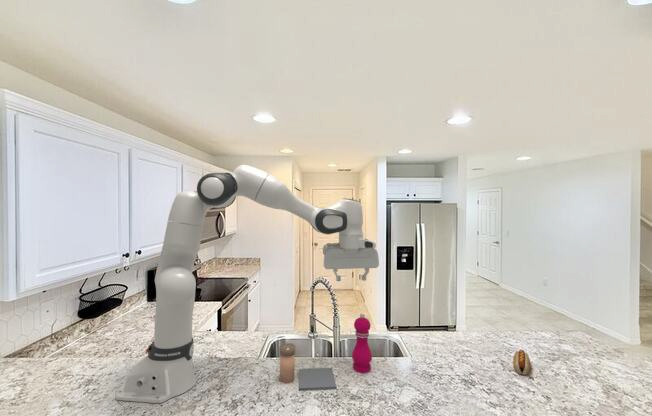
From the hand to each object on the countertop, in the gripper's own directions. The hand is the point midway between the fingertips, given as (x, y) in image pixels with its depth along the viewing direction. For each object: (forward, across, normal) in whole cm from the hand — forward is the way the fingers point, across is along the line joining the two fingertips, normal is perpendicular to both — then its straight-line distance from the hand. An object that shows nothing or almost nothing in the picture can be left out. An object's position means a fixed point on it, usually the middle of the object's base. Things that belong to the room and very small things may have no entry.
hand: (351, 280), depth 110 cm
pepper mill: (+32, +4, 0) cm, 33 cm away
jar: (+32, -23, -5) cm, 40 cm away
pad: (+32, -13, -6) cm, 35 cm away
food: (+34, +64, -4) cm, 72 cm away
